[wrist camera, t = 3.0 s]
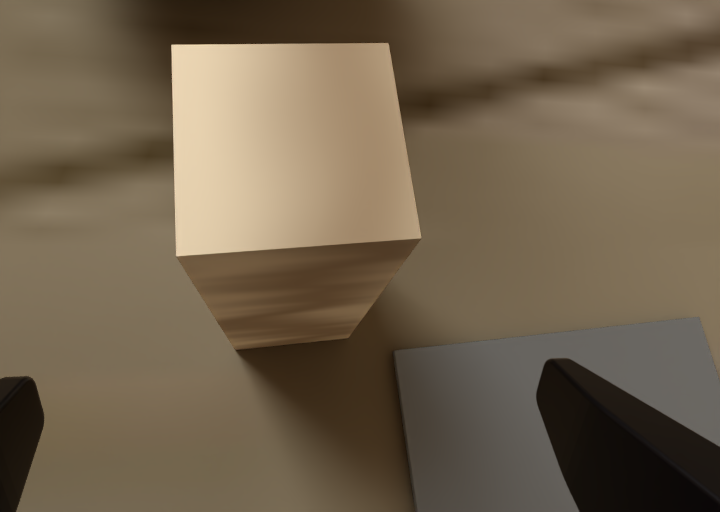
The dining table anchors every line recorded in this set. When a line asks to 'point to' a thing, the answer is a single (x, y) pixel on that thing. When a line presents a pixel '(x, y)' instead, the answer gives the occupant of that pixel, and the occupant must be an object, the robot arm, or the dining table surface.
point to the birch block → (289, 185)
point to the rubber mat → (534, 408)
